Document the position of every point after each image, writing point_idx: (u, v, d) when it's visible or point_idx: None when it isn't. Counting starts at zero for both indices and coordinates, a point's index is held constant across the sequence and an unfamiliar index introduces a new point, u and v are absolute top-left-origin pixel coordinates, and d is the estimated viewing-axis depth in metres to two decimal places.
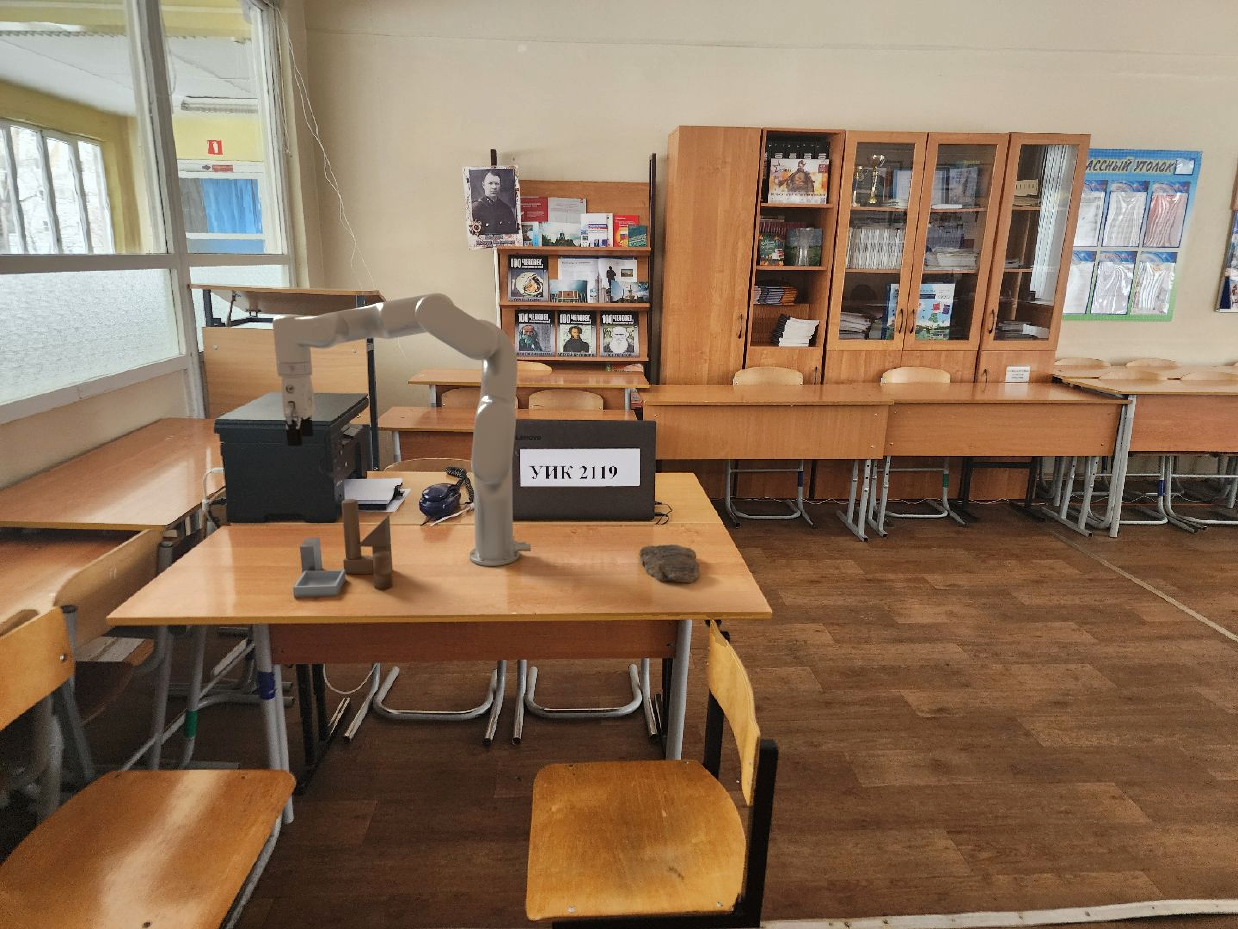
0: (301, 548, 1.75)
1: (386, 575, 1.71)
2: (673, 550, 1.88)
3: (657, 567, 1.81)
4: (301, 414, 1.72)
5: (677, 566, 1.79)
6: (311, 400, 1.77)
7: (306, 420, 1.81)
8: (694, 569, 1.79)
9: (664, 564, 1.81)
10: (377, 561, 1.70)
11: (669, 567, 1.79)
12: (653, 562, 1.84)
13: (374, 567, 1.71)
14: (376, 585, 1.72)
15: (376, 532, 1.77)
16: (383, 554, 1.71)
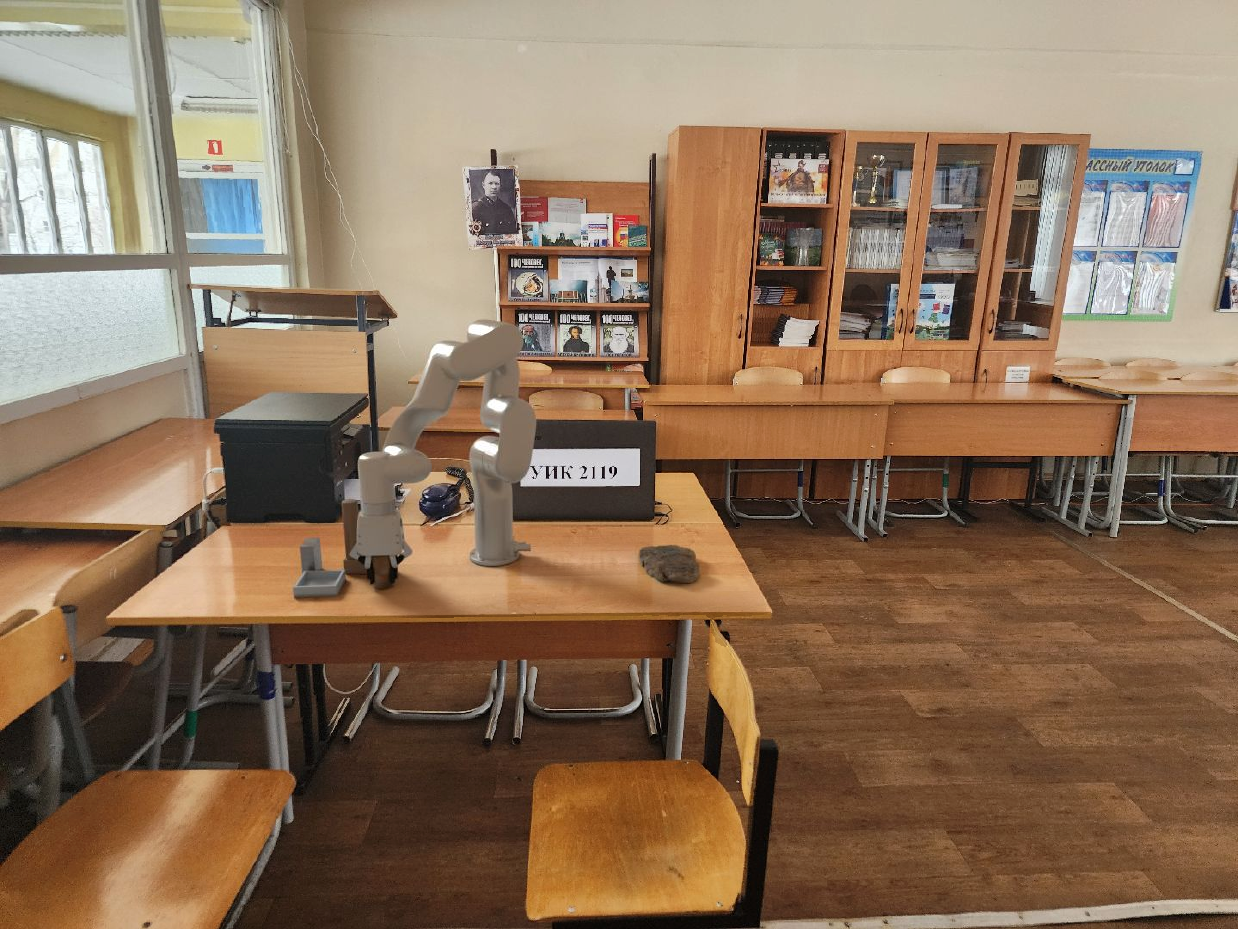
0: (301, 548, 1.75)
1: (386, 575, 1.71)
2: (673, 550, 1.88)
3: (657, 568, 1.81)
4: None
5: (677, 566, 1.79)
6: None
7: None
8: (694, 570, 1.79)
9: (664, 564, 1.80)
10: (377, 561, 1.70)
11: (669, 567, 1.78)
12: (653, 563, 1.84)
13: (374, 567, 1.71)
14: (376, 585, 1.72)
15: None
16: None
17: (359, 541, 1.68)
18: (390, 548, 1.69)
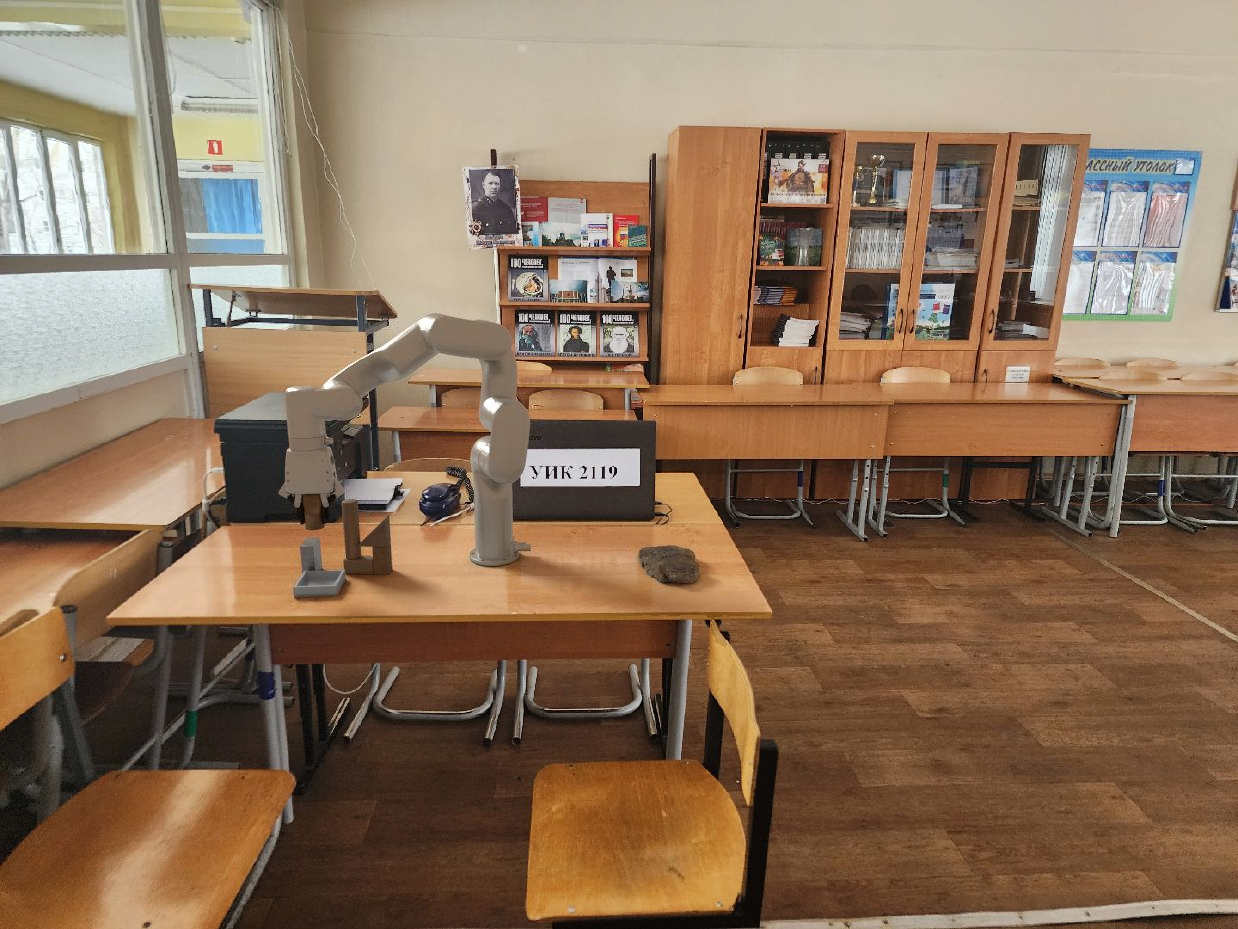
0: (301, 548, 1.75)
1: (316, 514, 1.65)
2: (672, 551, 1.88)
3: (657, 568, 1.81)
4: None
5: (678, 567, 1.79)
6: None
7: None
8: (694, 570, 1.79)
9: (664, 565, 1.80)
10: (307, 500, 1.64)
11: (670, 568, 1.78)
12: (653, 563, 1.83)
13: (304, 506, 1.65)
14: (307, 525, 1.66)
15: (376, 532, 1.77)
16: None
17: (287, 478, 1.62)
18: (320, 486, 1.63)
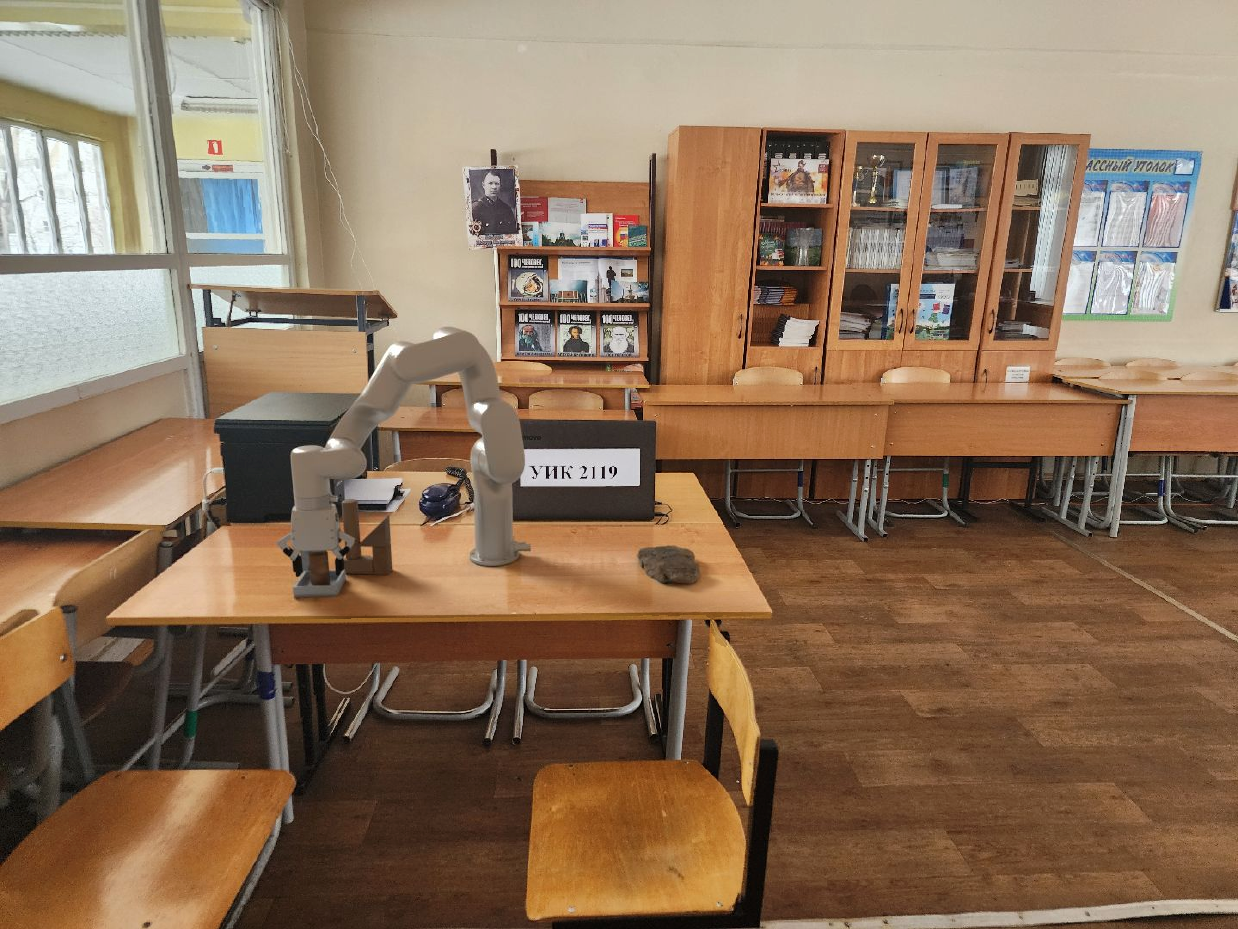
0: None
1: (322, 574, 1.69)
2: (672, 551, 1.87)
3: (657, 569, 1.81)
4: (341, 538, 1.71)
5: (678, 567, 1.79)
6: None
7: (299, 557, 1.69)
8: (694, 570, 1.79)
9: (665, 565, 1.80)
10: (313, 560, 1.68)
11: (670, 568, 1.78)
12: (653, 564, 1.83)
13: (310, 566, 1.69)
14: (313, 584, 1.70)
15: (376, 532, 1.77)
16: (320, 553, 1.69)
17: (293, 536, 1.65)
18: (325, 543, 1.67)
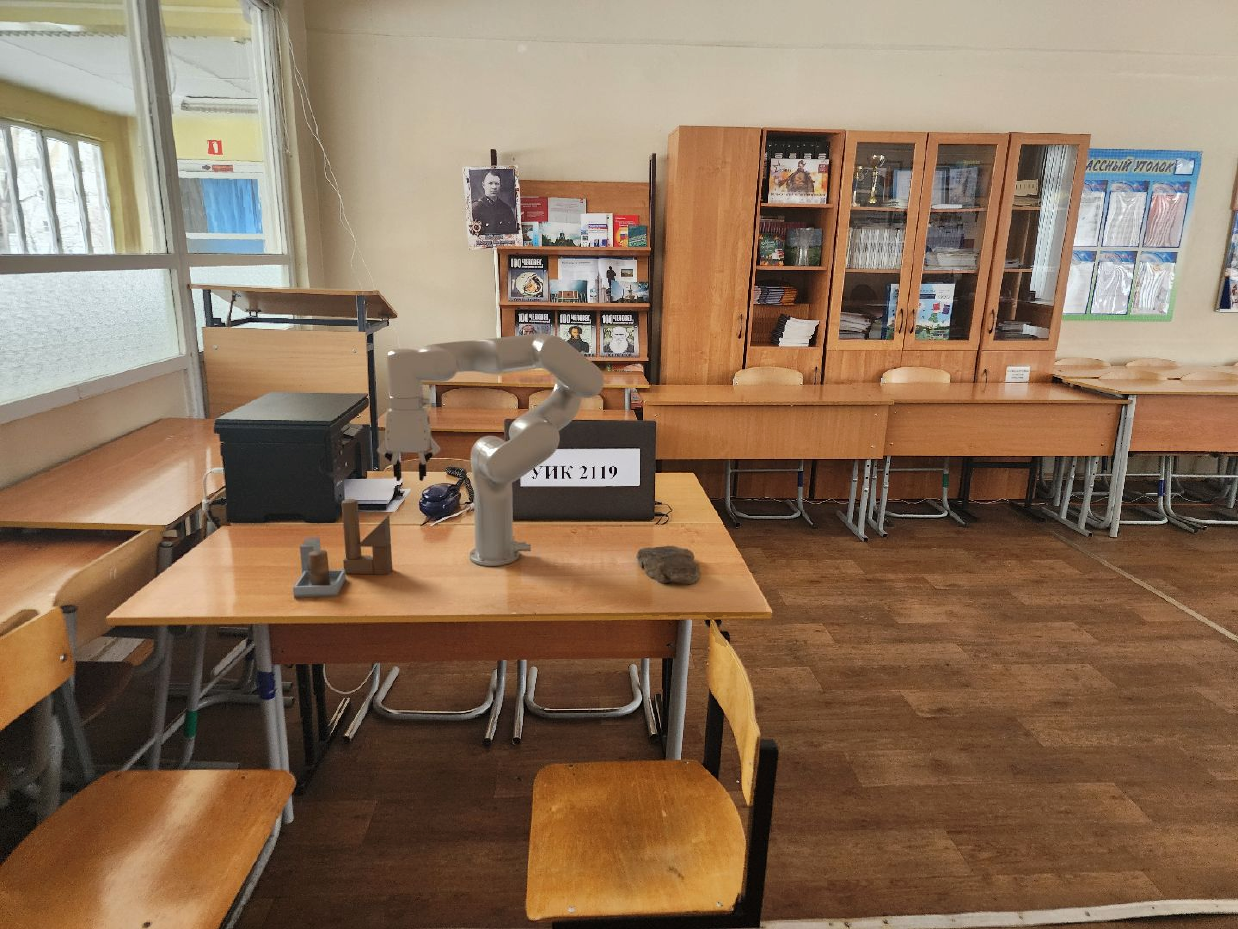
0: (301, 548, 1.75)
1: (322, 574, 1.69)
2: (672, 551, 1.87)
3: (658, 569, 1.80)
4: None
5: (679, 567, 1.78)
6: None
7: None
8: (695, 570, 1.79)
9: (665, 566, 1.79)
10: (313, 560, 1.68)
11: (671, 569, 1.78)
12: (653, 564, 1.83)
13: (310, 566, 1.69)
14: (313, 584, 1.70)
15: (376, 532, 1.77)
16: (319, 553, 1.69)
17: (388, 436, 1.71)
18: (418, 444, 1.73)
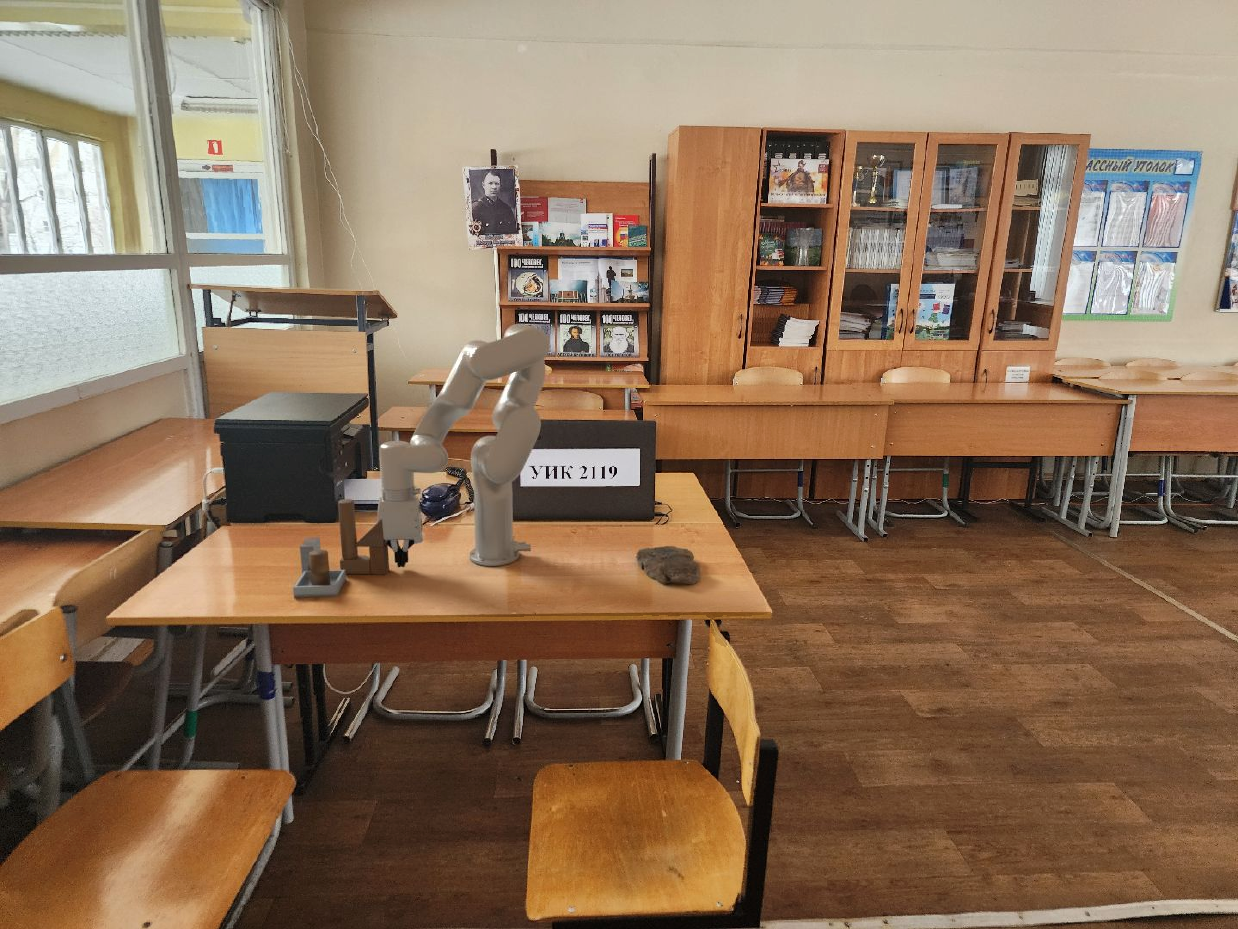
0: (301, 548, 1.75)
1: (323, 573, 1.69)
2: (671, 552, 1.87)
3: (658, 570, 1.80)
4: None
5: (679, 568, 1.78)
6: None
7: None
8: (696, 570, 1.79)
9: (666, 566, 1.79)
10: (314, 560, 1.68)
11: (672, 569, 1.77)
12: (654, 565, 1.82)
13: (311, 566, 1.69)
14: (313, 584, 1.70)
15: (373, 532, 1.77)
16: (320, 553, 1.70)
17: None
18: (409, 532, 1.78)
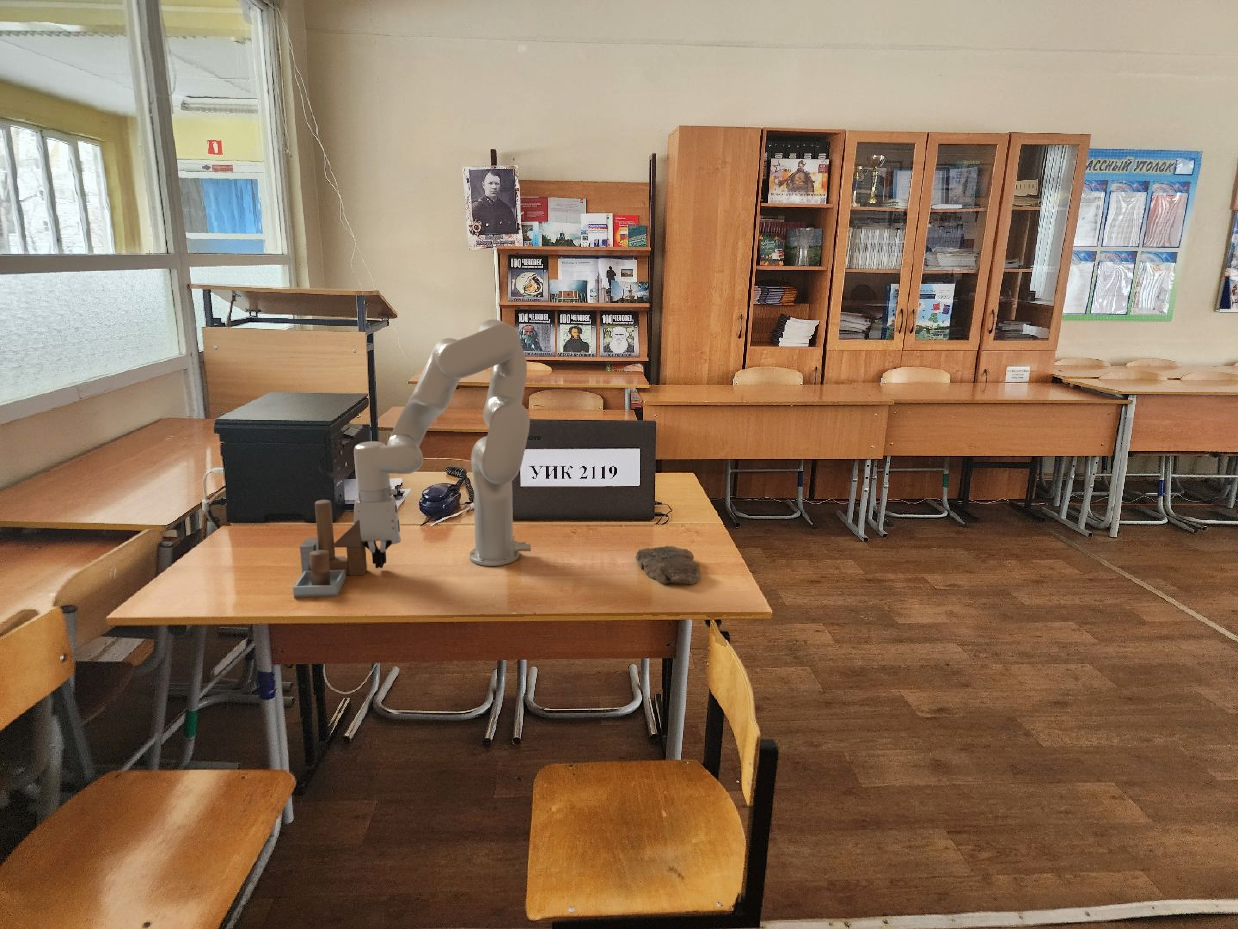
0: (301, 548, 1.75)
1: (324, 573, 1.69)
2: (671, 552, 1.87)
3: (659, 570, 1.80)
4: None
5: (679, 568, 1.78)
6: None
7: None
8: (696, 571, 1.79)
9: (666, 566, 1.79)
10: (315, 560, 1.68)
11: (672, 569, 1.77)
12: (654, 565, 1.82)
13: (311, 566, 1.69)
14: (313, 584, 1.69)
15: (350, 532, 1.76)
16: (321, 552, 1.70)
17: None
18: (386, 533, 1.77)
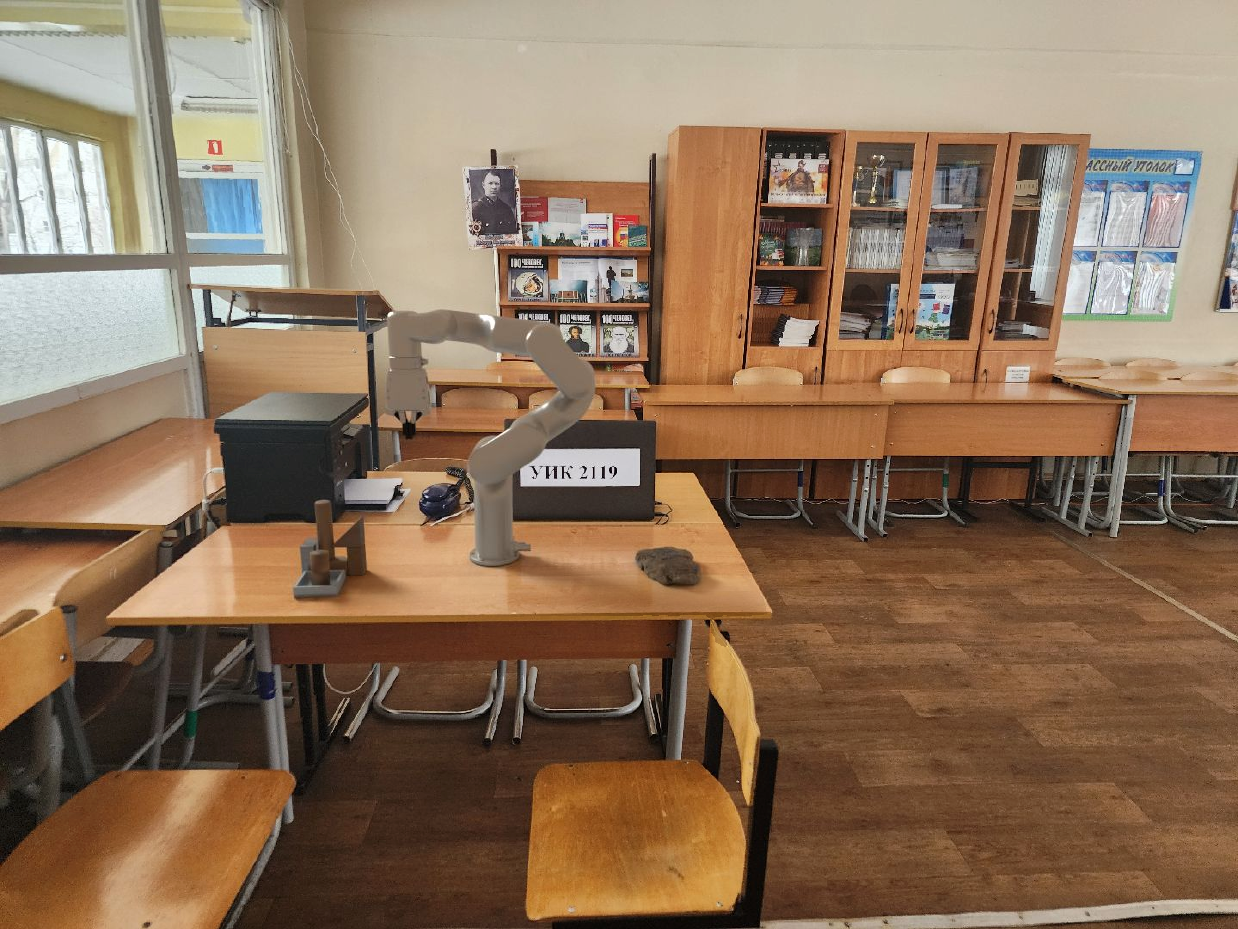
0: (301, 548, 1.75)
1: (325, 573, 1.70)
2: (671, 552, 1.87)
3: (659, 570, 1.79)
4: None
5: (680, 568, 1.78)
6: None
7: None
8: (697, 571, 1.79)
9: (667, 567, 1.79)
10: (317, 559, 1.68)
11: (673, 570, 1.77)
12: (654, 566, 1.82)
13: (312, 566, 1.69)
14: (314, 584, 1.69)
15: (350, 532, 1.76)
16: (321, 552, 1.70)
17: (388, 395, 1.78)
18: (417, 403, 1.79)
